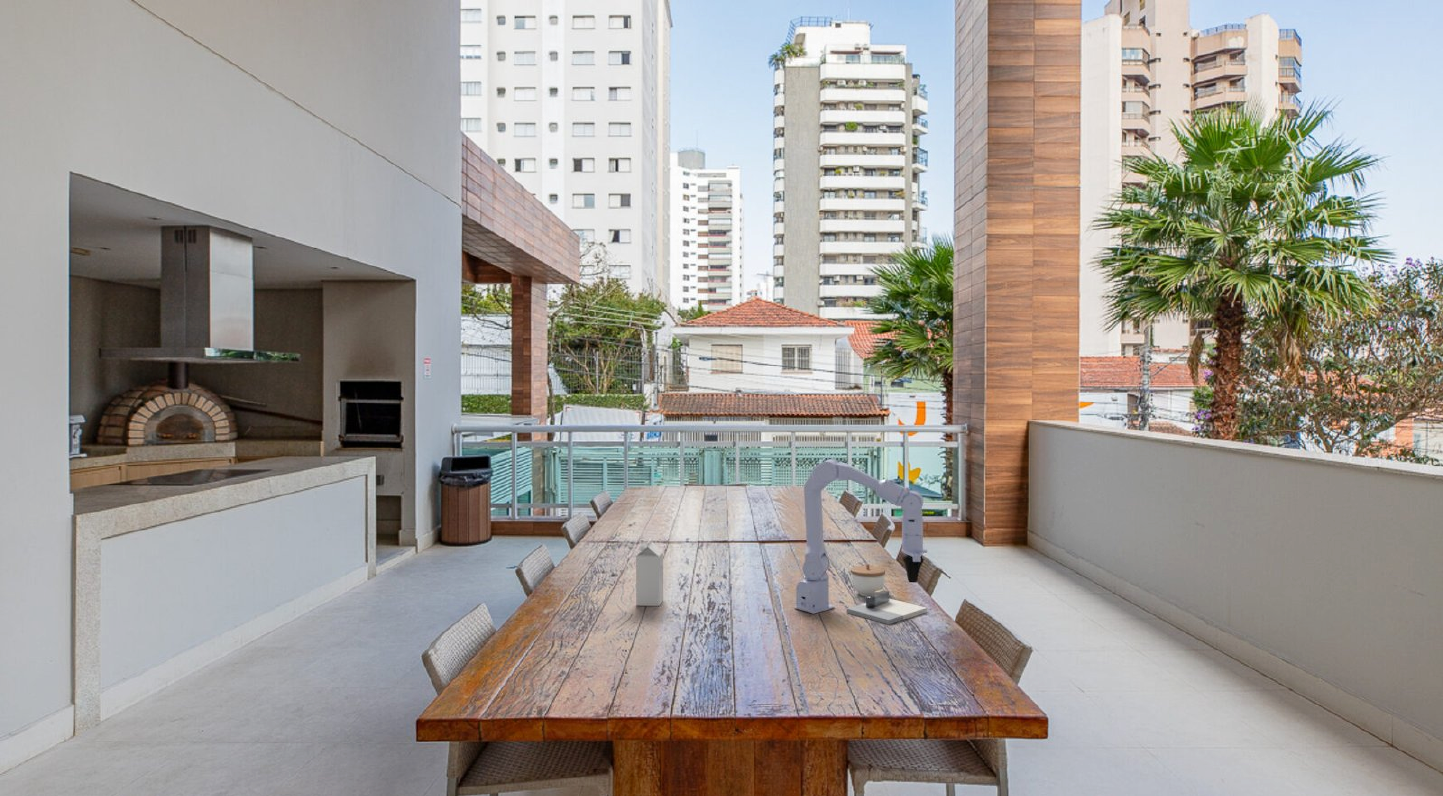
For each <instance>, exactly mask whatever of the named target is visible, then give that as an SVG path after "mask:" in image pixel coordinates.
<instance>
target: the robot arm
mask: <svg viewBox="0 0 1443 796" xmlns="http://www.w3.org/2000/svg"><path fill="white" fill-rule="evenodd" d="M836 480H837V481H838V482H839V481H852V482H855V483H856V484H859V485H862V486H863V487H866V488H868V489H870V490H873V491H874V492H875V493H876V497H878V498H879V499H882V500H884V501H886V502H888V503H890V504H891V505H894V506H897V507H901V509H902V518H901V553H903V554H905V555H901V559H902V560H903V564H904V567H905V570H906V576H907V577H906V578H907V580H908V583H917V582H918V579H919V574H920V570H921V567H922V564H923V563H924V562H925V561H924V558H923V556H922V555H923V554H924V553H928V550H927V549H926V548H924V545H923V544H924V524H923V523H924V518H923V505H924V498H923V496H922V494H921V493H920V492H918V491H917V490H915V489H911V488H910V487H909V486H906V487H905V486H902V485H901V484H898V483H897V482H895V479H893V478H890V479H887V478H884V479H882V480H880V479H877V478H876V477H873V476H872V475H870V474H868V473H866V472H864V471H862V470H860V469H858V468H856V467H855V466H853V465H850V464H848V463H845V462H843V461H839V460H837V459H834V458H830V459H826V460H825V461H822V462H820V463H818V464H817V465H816V466H815V467H814V468H813V469H812V471H811V473H810V474H809V476H808V478H807V480H806V482H805V484H804V485H803V493H804V494H803V495H804V496H803V497H804V498H803V499H804V515H805V517H804V518H805V531H806V532H805V535H806V549H805V554H804V561H803V565H802V572H803V574H804V575H803V579H802V580H801V581H799V582H798V583H797V585H796V589H795V591H796V596H795V598H796V599H795V603H796V604H795V605H794V607H793V608H794V609H797V610H800V611H804V612H807V613H810V614H816V613H817V614H818V613H821V612H826V611H828V610H832V609H834V608H836V607H835V605H832V604H829V602H830V601H829V597H830V596H829V595H830V594H829V592H830V591H829V587H830V585H829V584H830V583H829V580H830V579H829V578H830V577H829V575H828V573H827V571H828V570H829V568H830V563H831V562H830V559H829V557H828V555H827V550H826V546H825V544H824V543H825V540H824V523H823V506H822V505H823V504H822V491H824V489H825V488H826V487H827V486H829V484H831V483H833V482H834V481H836Z"/></svg>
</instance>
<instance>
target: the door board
mask: <svg viewBox="0 0 1443 796" xmlns="http://www.w3.org/2000/svg"><path fill="white" fill-rule="evenodd" d="M883 590H885V591H887V590H886V589H882V590H878V591H875V593H877V592H880V591H883ZM846 613H848V614H849V615H850V614H851V615H854V616H857V617H861V618H865V619H867V620H872V621H875V622H879V623H883V624H886V625H892V624H894V623H898V622H900V621H903V620H907V619H910V618H912V617H915V616H919V615H923V614H925V613H928V608H927V607H925V606H920V605H917V604H913V603H909V602H905V601H901V600H897V599H893V598H889V601H887V602H885V603H882V604H880V605H878V606H876V607H875V608H868V607H866V602H865V603H860V604H857V605H853V606H850V607H846Z"/></svg>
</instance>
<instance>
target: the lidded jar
mask: <svg viewBox="0 0 1443 796" xmlns="http://www.w3.org/2000/svg"><path fill="white" fill-rule="evenodd" d="M885 577H886V570H885V569H884V568H883V567H880V566H876V565H875V566H873V565H870V564H869V563H866V564H865V565H857V566H856V565H855V566H853V567H851V568H850V579H851V584H852V588H853V589H854V590H855V592H856V593H858V595H859V596H862V597H866V596H870V595H872V594H875V591H878V590H883V588H884V586H885V580H886V578H885Z"/></svg>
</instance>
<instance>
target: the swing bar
mask: <svg viewBox="0 0 1443 796" xmlns="http://www.w3.org/2000/svg"><path fill="white" fill-rule="evenodd" d="M882 590H883V591H880V592H877V593H875V594H872V595H870V596H865V603H866V607H868V608H875V607H876V606H878V605H880V604H882V603H885V602H887V601H889V599H890V591H888V590H886V589H882ZM885 590H886V591H885Z"/></svg>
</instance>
